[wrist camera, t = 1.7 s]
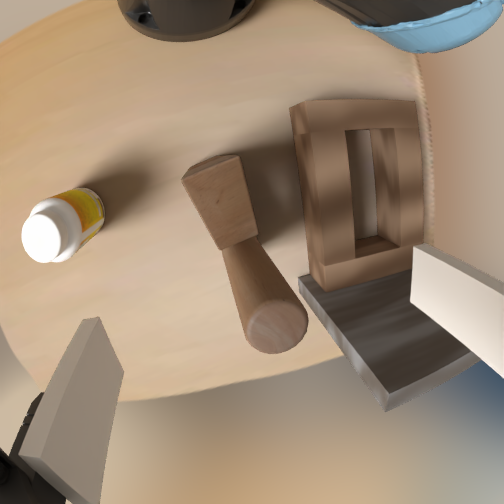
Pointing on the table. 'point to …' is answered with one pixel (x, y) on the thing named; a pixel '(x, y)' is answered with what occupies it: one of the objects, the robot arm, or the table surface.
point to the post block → (370, 248)
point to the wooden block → (246, 255)
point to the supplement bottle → (62, 225)
